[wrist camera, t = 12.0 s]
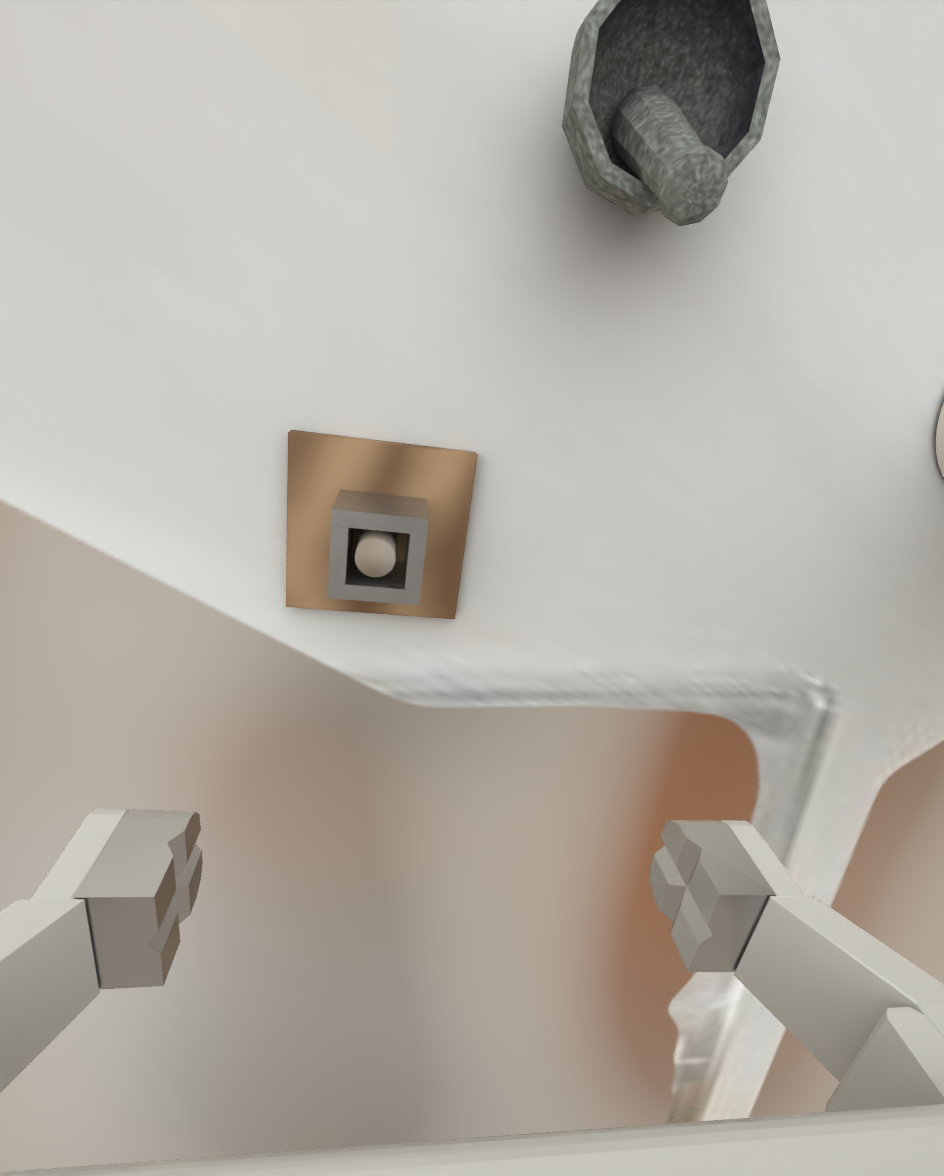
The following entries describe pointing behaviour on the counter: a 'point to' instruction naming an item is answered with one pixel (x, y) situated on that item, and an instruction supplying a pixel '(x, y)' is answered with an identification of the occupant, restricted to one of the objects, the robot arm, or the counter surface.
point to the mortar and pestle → (668, 100)
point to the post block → (386, 470)
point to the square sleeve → (380, 516)
